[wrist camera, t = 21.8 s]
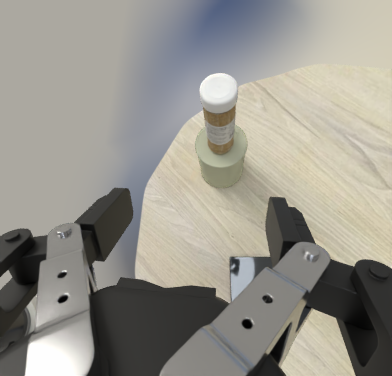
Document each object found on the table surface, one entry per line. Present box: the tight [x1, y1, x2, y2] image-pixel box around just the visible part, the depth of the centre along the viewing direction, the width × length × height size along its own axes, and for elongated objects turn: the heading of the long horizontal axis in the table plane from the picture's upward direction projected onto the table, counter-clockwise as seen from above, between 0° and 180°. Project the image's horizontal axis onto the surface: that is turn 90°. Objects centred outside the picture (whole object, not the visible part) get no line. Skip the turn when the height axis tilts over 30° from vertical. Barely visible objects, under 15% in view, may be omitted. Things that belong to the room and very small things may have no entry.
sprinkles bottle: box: [200, 73, 238, 154], centre depth 33 cm, size 5×5×13 cm
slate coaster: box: [230, 257, 273, 302], centre depth 42 cm, size 10×10×1 cm
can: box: [195, 125, 247, 188], centre depth 45 cm, size 9×9×12 cm
